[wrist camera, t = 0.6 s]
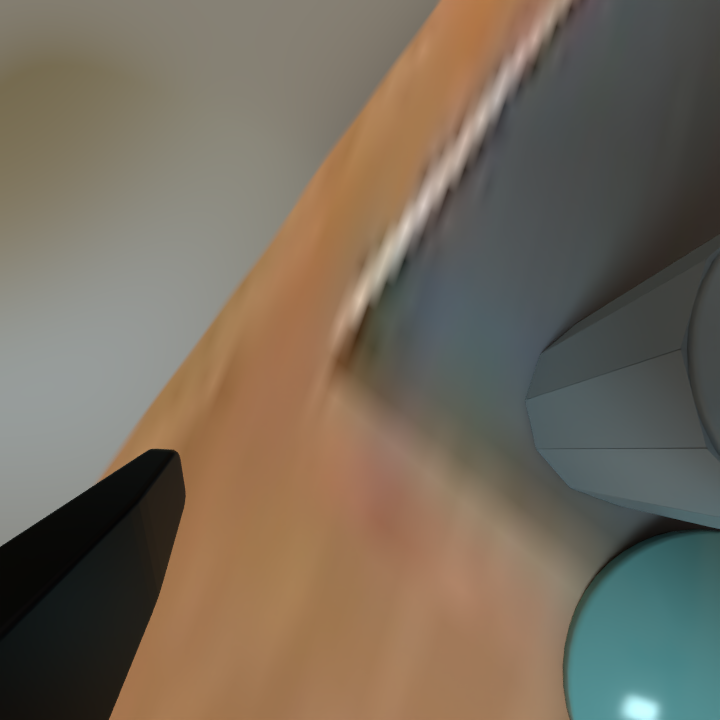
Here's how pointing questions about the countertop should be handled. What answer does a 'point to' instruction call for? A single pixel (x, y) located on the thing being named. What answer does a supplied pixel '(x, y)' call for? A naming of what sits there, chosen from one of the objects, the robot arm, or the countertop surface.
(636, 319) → the grey faceted cylinder
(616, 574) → the dish
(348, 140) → the countertop surface
